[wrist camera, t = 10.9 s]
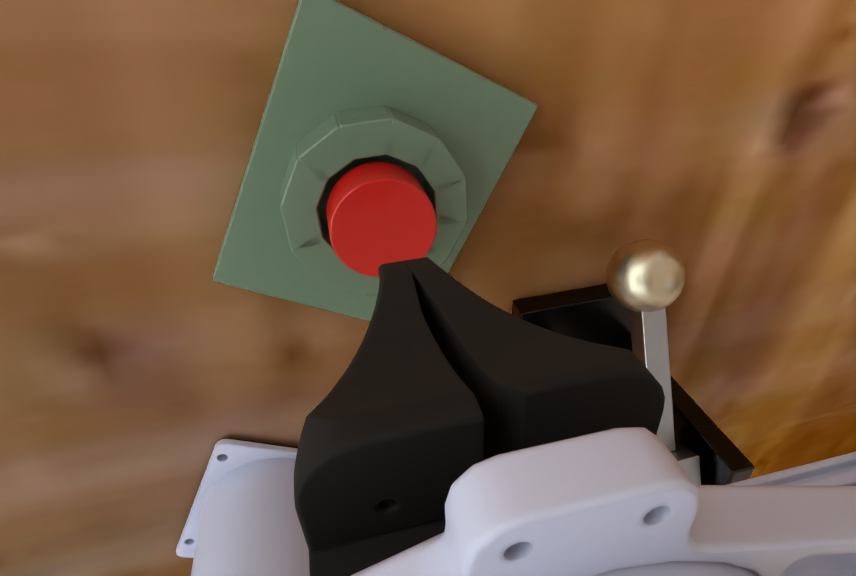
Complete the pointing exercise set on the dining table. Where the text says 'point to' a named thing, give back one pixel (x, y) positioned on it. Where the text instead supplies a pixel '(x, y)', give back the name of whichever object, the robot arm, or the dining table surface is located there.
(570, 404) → the robot arm
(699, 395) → the dining table surface
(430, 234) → the button
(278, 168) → the switch box
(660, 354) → the lever
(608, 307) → the switch bracket
